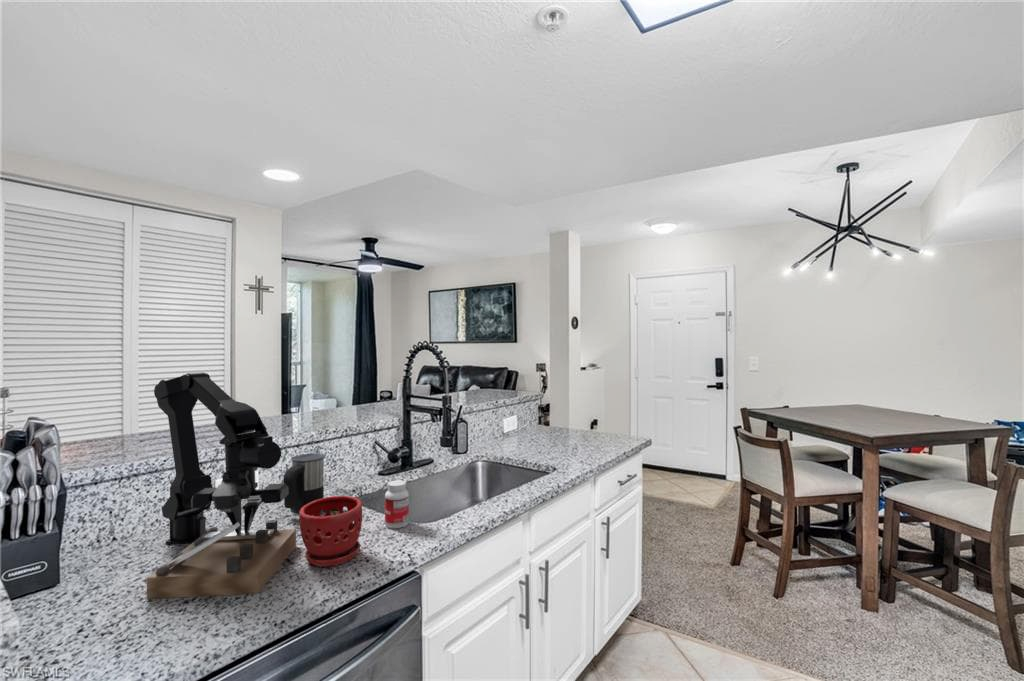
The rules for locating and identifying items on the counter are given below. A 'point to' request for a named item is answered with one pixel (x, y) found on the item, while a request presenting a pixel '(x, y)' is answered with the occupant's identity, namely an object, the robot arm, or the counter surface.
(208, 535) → the strap
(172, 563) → the strap
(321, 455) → the milk frother
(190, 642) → the counter surface
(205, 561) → the block
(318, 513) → the plant pot
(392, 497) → the pill bottle
